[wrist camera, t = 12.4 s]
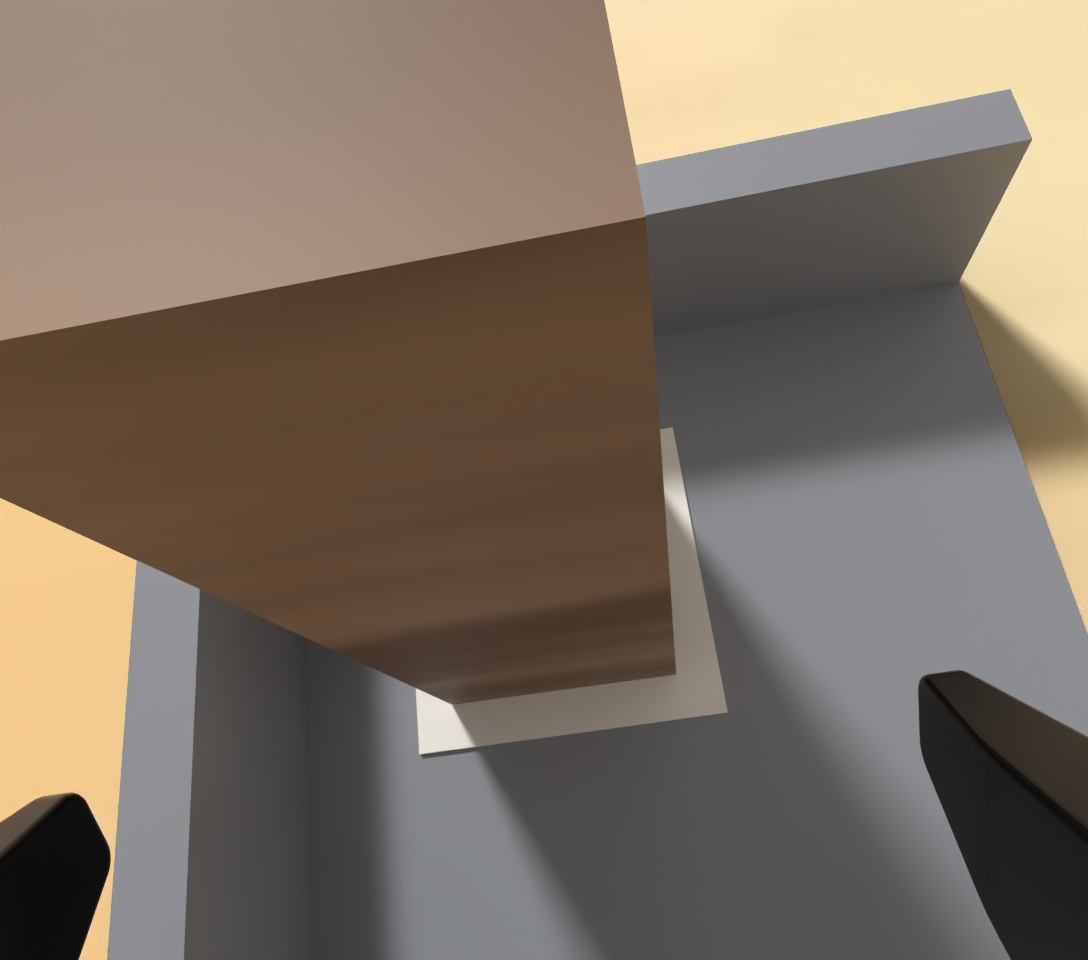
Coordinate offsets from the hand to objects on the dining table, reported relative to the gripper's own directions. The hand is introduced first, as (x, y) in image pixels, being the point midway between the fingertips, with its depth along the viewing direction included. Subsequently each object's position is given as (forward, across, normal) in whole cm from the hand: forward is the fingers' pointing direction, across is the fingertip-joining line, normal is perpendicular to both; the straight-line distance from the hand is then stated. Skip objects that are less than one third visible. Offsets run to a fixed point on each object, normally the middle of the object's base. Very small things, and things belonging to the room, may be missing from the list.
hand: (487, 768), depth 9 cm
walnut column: (+9, 0, +3) cm, 9 cm away
